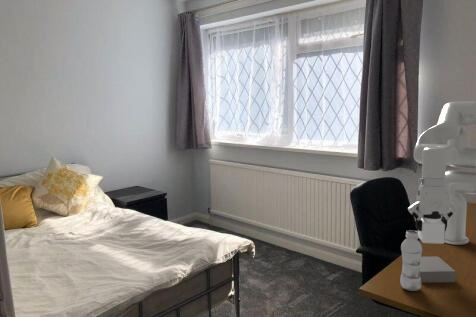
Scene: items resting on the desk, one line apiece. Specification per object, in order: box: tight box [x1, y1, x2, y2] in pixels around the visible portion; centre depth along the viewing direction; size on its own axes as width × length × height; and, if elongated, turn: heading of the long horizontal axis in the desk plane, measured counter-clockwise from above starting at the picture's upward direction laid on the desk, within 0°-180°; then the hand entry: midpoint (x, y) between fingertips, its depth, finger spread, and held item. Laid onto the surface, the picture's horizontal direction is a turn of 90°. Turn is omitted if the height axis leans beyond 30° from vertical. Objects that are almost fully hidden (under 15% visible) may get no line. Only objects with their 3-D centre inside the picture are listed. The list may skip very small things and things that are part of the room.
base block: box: [420, 255, 457, 283], centre depth 141 cm, size 13×12×4 cm
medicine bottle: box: [417, 211, 445, 245], centre depth 139 cm, size 7×7×12 cm
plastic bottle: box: [399, 229, 423, 292], centre depth 130 cm, size 6×7×20 cm
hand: (431, 229), depth 139 cm, fingers closed on medicine bottle, 7 cm apart
